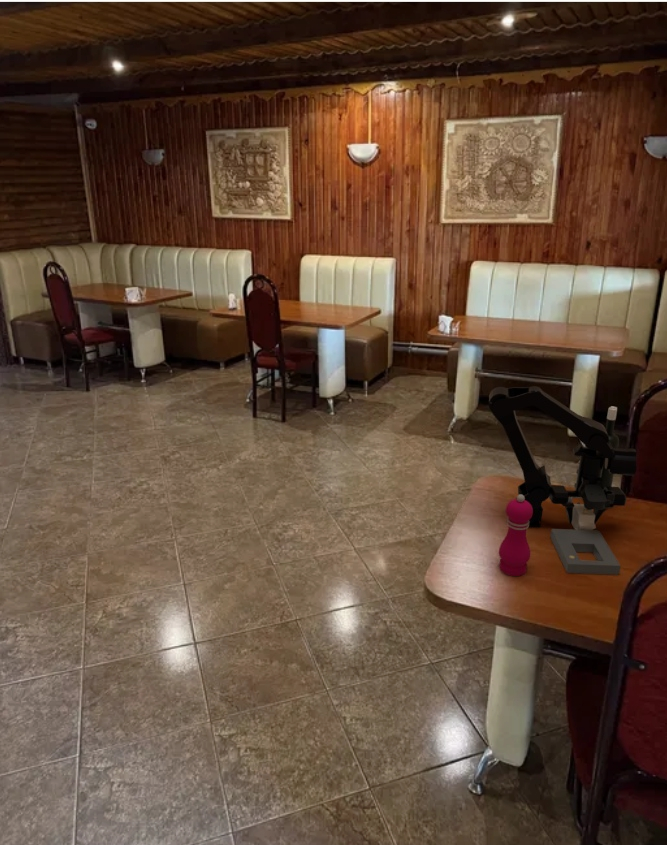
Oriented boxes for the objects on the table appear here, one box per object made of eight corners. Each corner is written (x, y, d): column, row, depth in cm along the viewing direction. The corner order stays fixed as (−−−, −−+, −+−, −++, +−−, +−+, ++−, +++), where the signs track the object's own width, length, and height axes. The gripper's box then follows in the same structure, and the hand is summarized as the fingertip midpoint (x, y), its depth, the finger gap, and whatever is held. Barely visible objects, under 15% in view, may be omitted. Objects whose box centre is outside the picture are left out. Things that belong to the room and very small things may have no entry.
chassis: (567, 572, 150) (568, 563, 149) (550, 537, 165) (551, 528, 164) (618, 574, 149) (620, 565, 148) (597, 538, 164) (598, 529, 163)
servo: (578, 536, 165) (581, 515, 163) (568, 518, 174) (571, 498, 171) (594, 536, 165) (597, 515, 162) (583, 518, 173) (586, 498, 171)
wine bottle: (590, 510, 177) (606, 410, 166) (583, 500, 183) (598, 403, 172) (611, 510, 177) (628, 410, 166) (603, 500, 183) (619, 403, 172)
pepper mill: (491, 564, 153) (498, 491, 146) (515, 557, 156) (523, 485, 149) (510, 580, 147) (518, 504, 140) (534, 573, 150) (544, 498, 142)
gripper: (561, 484, 156) (553, 538, 162) (639, 485, 155) (628, 540, 160) (550, 464, 166) (543, 516, 172) (622, 466, 165) (613, 518, 171)
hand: (581, 523), depth 169 cm, fingers open, 6 cm apart
